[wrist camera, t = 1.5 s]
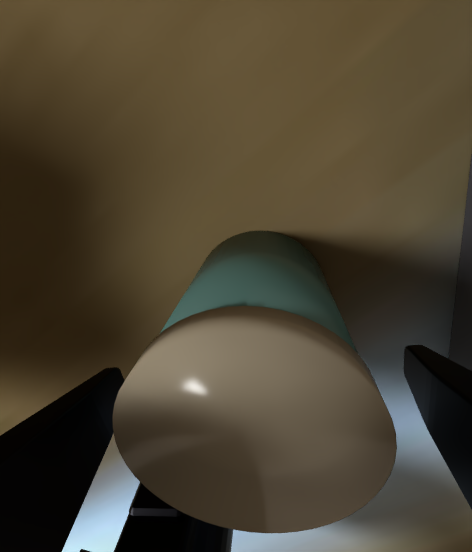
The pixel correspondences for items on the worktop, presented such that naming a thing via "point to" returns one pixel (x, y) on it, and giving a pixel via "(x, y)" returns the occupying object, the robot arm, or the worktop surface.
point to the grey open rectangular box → (464, 293)
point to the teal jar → (256, 398)
